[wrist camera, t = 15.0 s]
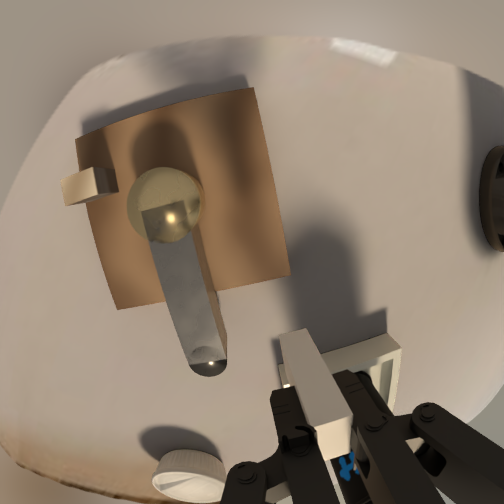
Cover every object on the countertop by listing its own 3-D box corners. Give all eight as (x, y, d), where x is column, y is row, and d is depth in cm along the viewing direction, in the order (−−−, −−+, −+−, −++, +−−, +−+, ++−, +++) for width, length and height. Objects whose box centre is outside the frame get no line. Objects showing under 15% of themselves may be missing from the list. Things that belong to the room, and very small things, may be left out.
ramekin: (157, 436, 30) (151, 465, 25) (236, 450, 31) (238, 479, 26) (155, 471, 32) (151, 495, 27) (222, 482, 34) (222, 506, 29)
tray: (387, 332, 28) (401, 347, 25) (380, 405, 31) (390, 421, 28) (278, 364, 28) (283, 385, 24) (291, 433, 31) (296, 452, 28)
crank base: (251, 94, 21) (258, 67, 16) (286, 268, 25) (303, 293, 19) (85, 141, 21) (49, 133, 15) (124, 301, 25) (100, 331, 19)
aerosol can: (371, 403, 30) (439, 518, 10) (312, 424, 30) (357, 556, 10) (371, 358, 28) (466, 490, 8) (302, 382, 28) (361, 545, 8)
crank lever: (138, 179, 20) (119, 179, 16) (198, 163, 20) (190, 158, 17) (188, 354, 24) (183, 380, 20) (241, 344, 24) (243, 371, 20)
